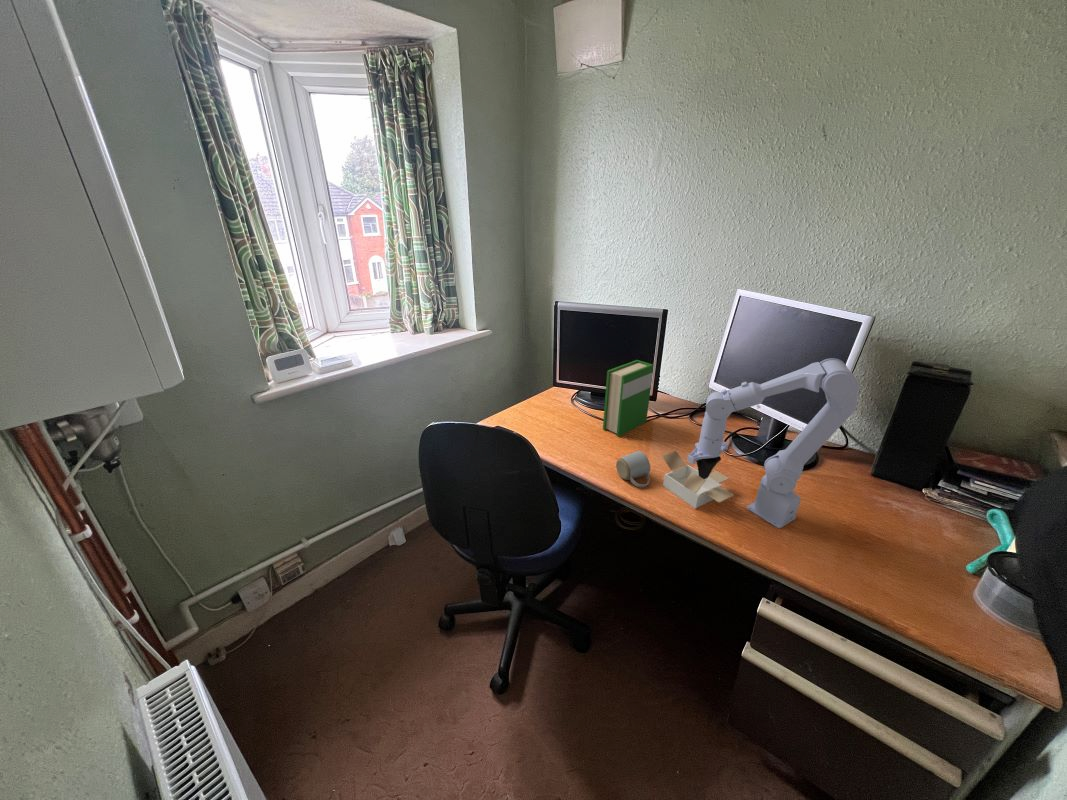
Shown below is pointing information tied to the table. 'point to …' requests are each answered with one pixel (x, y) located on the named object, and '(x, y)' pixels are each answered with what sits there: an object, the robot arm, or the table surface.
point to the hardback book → (627, 396)
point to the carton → (704, 494)
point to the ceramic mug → (634, 467)
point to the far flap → (673, 460)
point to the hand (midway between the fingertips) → (703, 476)
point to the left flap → (693, 482)
